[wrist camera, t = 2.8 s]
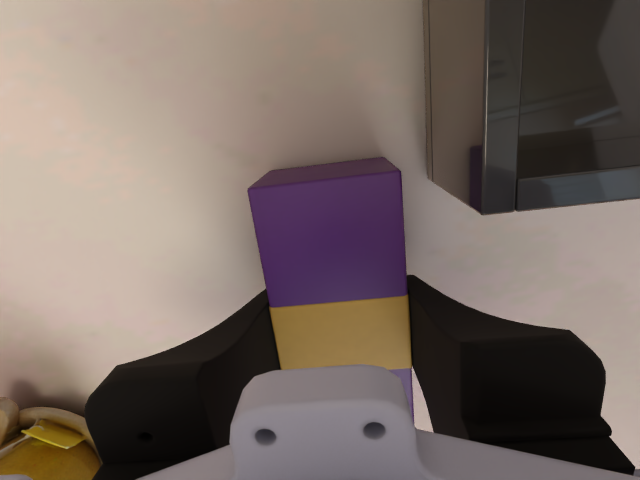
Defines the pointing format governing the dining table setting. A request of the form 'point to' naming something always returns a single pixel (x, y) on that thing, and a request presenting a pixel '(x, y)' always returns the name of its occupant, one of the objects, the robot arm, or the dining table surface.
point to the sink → (533, 101)
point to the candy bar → (336, 265)
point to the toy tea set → (45, 443)
